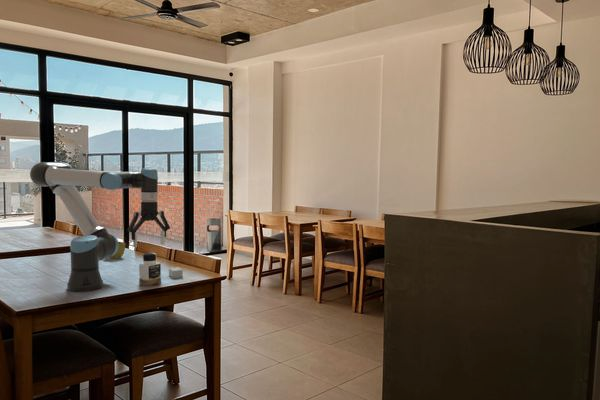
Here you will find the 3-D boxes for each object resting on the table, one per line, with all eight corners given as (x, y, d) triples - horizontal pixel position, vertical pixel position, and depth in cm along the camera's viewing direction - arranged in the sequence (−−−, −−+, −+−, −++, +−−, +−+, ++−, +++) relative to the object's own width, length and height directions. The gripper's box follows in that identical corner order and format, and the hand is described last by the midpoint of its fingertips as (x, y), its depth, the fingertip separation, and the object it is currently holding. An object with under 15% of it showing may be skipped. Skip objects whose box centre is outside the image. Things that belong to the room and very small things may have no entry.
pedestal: (152, 287, 223) (152, 281, 223) (134, 285, 226) (134, 279, 226) (165, 282, 233) (165, 276, 232) (147, 280, 236) (147, 274, 236)
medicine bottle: (148, 280, 224) (148, 255, 223) (139, 278, 228) (138, 253, 227) (161, 277, 230) (160, 253, 229) (151, 275, 234) (151, 251, 233)
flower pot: (126, 257, 290) (125, 242, 290) (113, 259, 283) (113, 244, 282) (116, 255, 295) (116, 241, 294) (104, 258, 288) (104, 243, 287)
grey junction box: (182, 277, 243) (182, 269, 243) (172, 278, 240) (172, 270, 240) (178, 274, 249) (178, 267, 248) (168, 275, 246) (168, 268, 246)
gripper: (126, 202, 215) (126, 249, 217) (177, 200, 232) (176, 244, 233) (120, 201, 221) (120, 246, 223) (170, 199, 237) (169, 241, 239)
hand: (149, 245), depth 228 cm, fingers open, 13 cm apart
